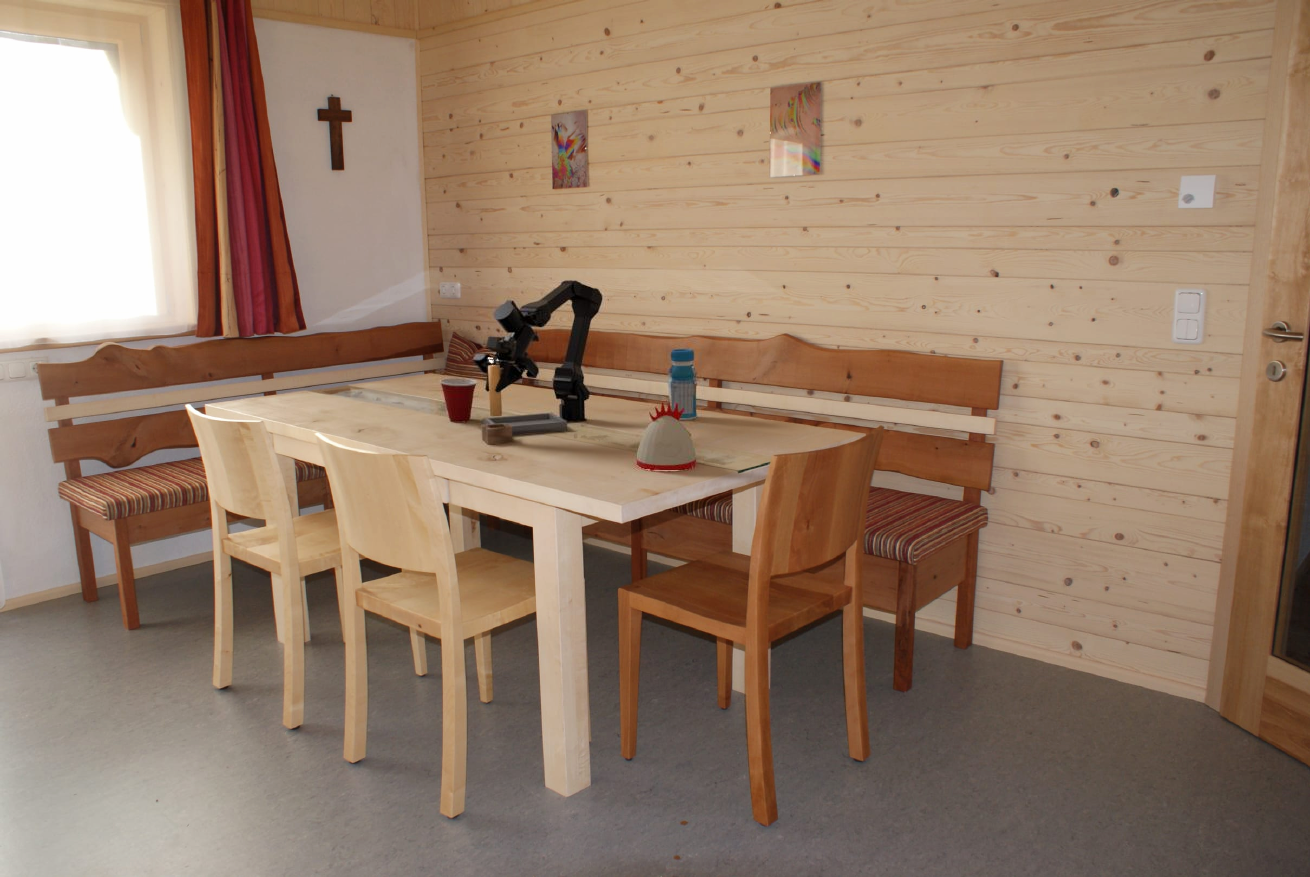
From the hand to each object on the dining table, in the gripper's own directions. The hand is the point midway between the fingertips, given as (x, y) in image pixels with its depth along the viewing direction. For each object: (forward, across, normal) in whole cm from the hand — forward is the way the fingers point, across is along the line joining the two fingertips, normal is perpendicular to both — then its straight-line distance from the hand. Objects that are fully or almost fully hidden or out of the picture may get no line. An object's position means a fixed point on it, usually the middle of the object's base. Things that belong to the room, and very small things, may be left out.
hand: (491, 391), depth 252 cm
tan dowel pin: (+4, 0, +6) cm, 7 cm away
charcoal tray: (-3, -4, +22) cm, 23 cm away
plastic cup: (-3, -29, +22) cm, 36 cm away
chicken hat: (+9, +52, +11) cm, 54 cm away
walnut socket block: (+9, 0, +10) cm, 14 cm away
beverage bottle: (-27, +26, +47) cm, 60 cm away
